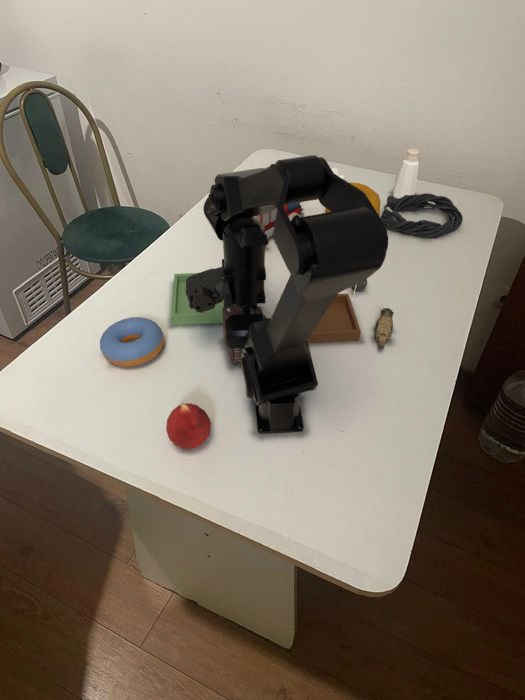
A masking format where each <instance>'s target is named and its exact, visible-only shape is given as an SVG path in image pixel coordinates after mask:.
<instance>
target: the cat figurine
mask: <svg viewBox="0 0 525 700" xmlns="http://www.w3.org/2000/svg"><path fill="white" fill-rule="evenodd" d="M394 313H395V312H394V311H393V310H392V309H390V308H388V307H384V308H383V309H381V310H380V314H379V316H378V318H377V320H376V322H375V328H374V329H375V332H374V335H375V341H378V349H379V350H381V351H382V350H384V349H385V347H386V343H388V342H389V339H391V337H392V333H393V328H394V321H393V317H394Z"/></svg>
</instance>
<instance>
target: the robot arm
mask: <svg viewBox="0 0 525 700" xmlns="http://www.w3.org/2000/svg"><path fill="white" fill-rule="evenodd" d="M331 168H332V167H331V166H330V165H329V163H328V161H327V160H326V159H325V158H324V157H322V156H317V155H316V154H311V155H310V154H309V155H304V156H297V157H289V158H284V159H278V160H276V161H275V163H271V164H270V165H269V166H267V167H259V168H252V169H245V170H237V171H232V172H225V173H219V174H216V176H215V178H214V184H211V186H210V190H209V194H208V197H207V198H206V200H205V202H204V203H203V206H202V207H203V215H204V216H205V218H206V220H207V222H208V223H209V226H211V228H212V230H213V232H214V233H215V235H216V237H217V238H218V240H220V241H222V247H223V258H222V259H221V266H220V267H216V268H210V269H206V270H203V271H200V272H196V273H197V274H194V275H192V276H190V277H188V278H187V280H186V295H187V297H188V300H189V307H190V308H191V309H195V310H196V312H199V313H202V312H205V311H208V310H211V309H214V307H215V304H218V303H220V302H222V301H223V299H224V307H232V306H233V305H235V306H236V307H241V308H242V312H243V315H231V316H230V317H228V318H227V319H226V320H225V332H226V346H227V347H229V348H230V349H232V348H239V351H240V353H241V357H242V359H241V363H240V366H241V371H242V376H243V381H244V385H245V395H246V398H249V399H251V400H254V408H255V419H256V430H257V433H258V434H261V435H265V434H267V435H268V434H281V433H282V434H283V433H284V434H285V433H299V432H300V433H301V432H303V431H304V429H305V428H304V427H305V426H304V419H303V414H302V409H301V404H300V403H301V394H303V393H306V392H307V393H308V392H313V391H316V389H317V388H318V386H319V382H318V377H317V374H316V369H315V366H314V361H313V358H312V353H311V349H310V346H309V345H310V344H309V343H308V342H307V340H308V338H309V336H310V335H311V333H312V332H313V330H314V329H315V327H316V326H317V324H318V323H319V321H320V320H321V318H322V317H323V315H324V314H325V312H326V311H327V309H328V308H329V306H330V305H331V303H332V302H333V300H334V299H335V297H336V296H337V294H341V293H342V292H343V291H346V290H348V289H350V288H353V287H352V286H354V285H356V284H358V283H360V282H362V281H364V280H366V279H367V280H368V279H369V278H370V277H371V276H372V275H373V274H376V272H377V271H379V270H380V269H381V267H382V266H383V264H384V263H385V260H386V255H387V251H388V247H389V234H388V229H387V226H386V225H385V224H384V222H383V221H382V219H381V218H380V217H381V216H380V215H378V213H377V212H376V210H375V208H374V207H373V205H372V204H371V202H370V201H369V199H368V197H367V196H366V194H365V193H364V192H363V191H361V190H360V189H358V188H356V187H355V186H353V185H352V184H350V183H351V182H349V181H347V180H345V178H344V179H342V178H340V177H339V176H337V175H336V174H334V173H333V171H332V170H331ZM316 200H318V202H319V203H320V205H321V206H323V207H324V208H325V209H326V208H327V209H328V210H330V211H332V212H328V213H325V212H322V213H317V214H312V215H307V216H305V215H304V217H300V218H295V219H293V220H292V221H290V219H289V217H288V215H287V213H286V211H285V209H284V208H285V205H288V204H294V203H300V204H301V203H305V202H310V201H316ZM276 208H277V214H276V220H275V226H274V231H273V235H272V239H273V241H274V243H275V245H276V246H275V247H276V248H277V250H278V252H279V254H280V256H281V258H282V260H283V262H284V265H285V266H286V269H287V270H288V272H289V273H290V275H289V277H288V279H287V282H286V284H285V286H284V289H283V290H282V293H281V295H280V298H279V300H278V302H277V305H276V307H275V308H274V311H273V313H272V315H271V317H267V316H266V315H265V314H264V315H263V314H258V305H257V304H260V305H261V304H266V292H265V281H267V272H266V266H265V265H266V246H267V245H269V238H268V239H267V236H266V234H265V227H264V226H263V225H262V224H261V222H260V221H258V220H257V219H255V218H252V217H253V216H259V215H265V214H269V213H271V212H272V211H273V210H275V209H276ZM265 245H266V246H265ZM249 307H251V314H250V308H249ZM226 346H225V347H226Z"/></svg>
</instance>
